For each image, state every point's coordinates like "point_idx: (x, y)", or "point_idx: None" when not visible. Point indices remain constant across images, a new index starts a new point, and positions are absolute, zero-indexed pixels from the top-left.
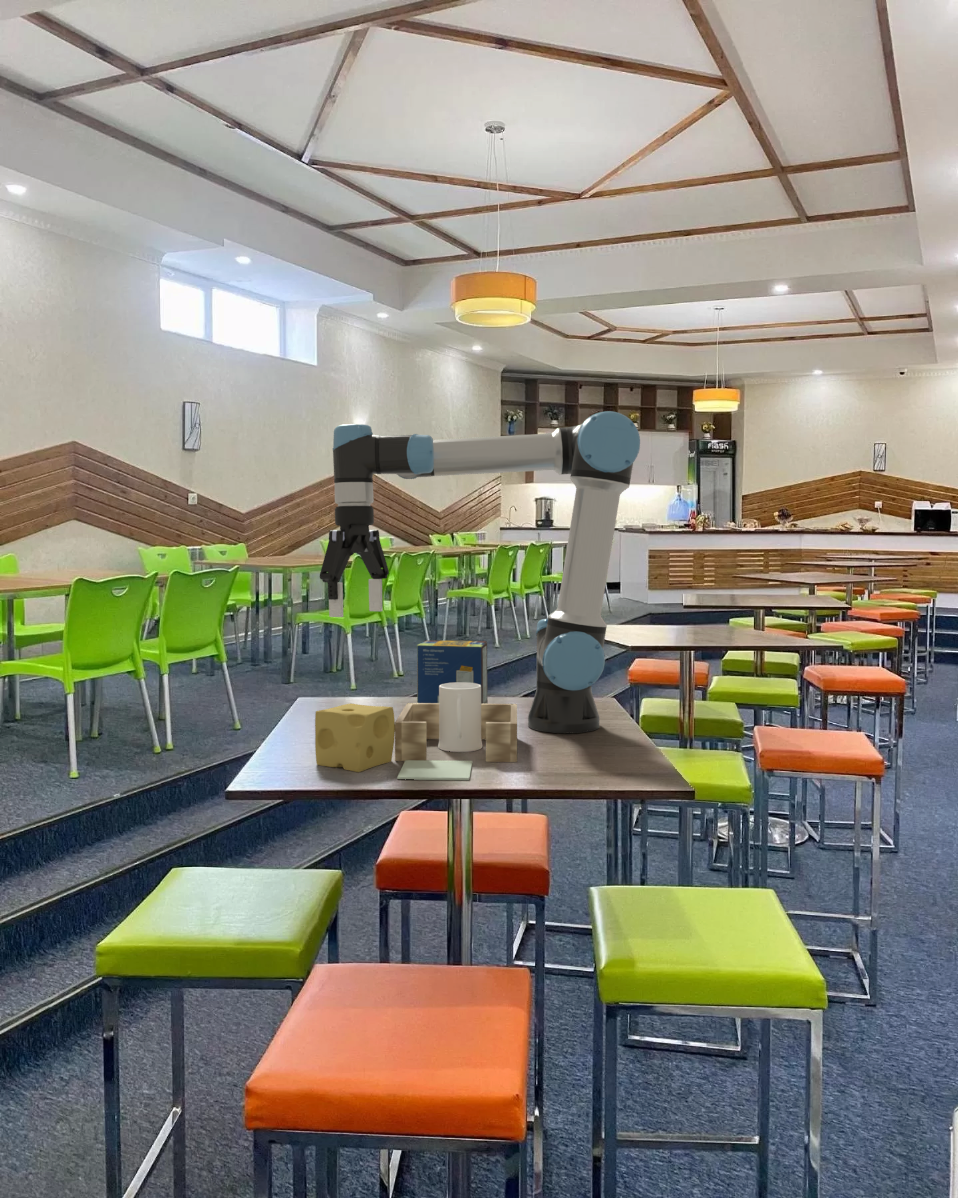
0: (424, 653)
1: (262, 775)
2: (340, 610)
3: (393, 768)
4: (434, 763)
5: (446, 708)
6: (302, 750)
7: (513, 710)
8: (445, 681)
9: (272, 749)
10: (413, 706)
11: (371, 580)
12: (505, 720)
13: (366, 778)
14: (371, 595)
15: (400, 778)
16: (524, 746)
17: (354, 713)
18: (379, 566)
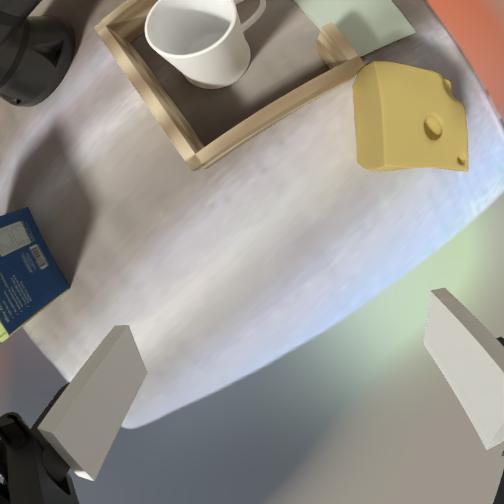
0: (10, 317)
1: (483, 190)
2: (458, 303)
3: None
4: (335, 22)
5: (241, 32)
6: (373, 243)
7: None
8: (21, 266)
9: (387, 282)
10: (195, 152)
11: (87, 464)
12: (121, 38)
13: (433, 68)
14: (118, 409)
15: (413, 29)
16: None
17: (448, 97)
18: (14, 492)
